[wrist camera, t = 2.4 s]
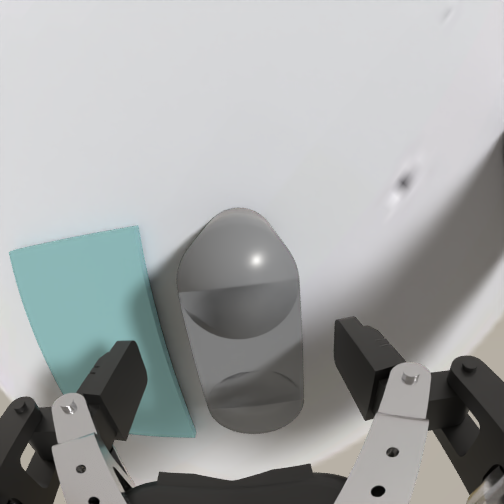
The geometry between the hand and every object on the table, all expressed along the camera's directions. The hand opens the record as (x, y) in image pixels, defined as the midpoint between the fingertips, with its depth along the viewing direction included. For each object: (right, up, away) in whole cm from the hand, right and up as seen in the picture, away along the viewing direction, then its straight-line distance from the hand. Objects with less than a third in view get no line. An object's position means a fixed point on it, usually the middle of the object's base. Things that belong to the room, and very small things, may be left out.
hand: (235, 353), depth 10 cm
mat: (-11, -4, +8) cm, 14 cm away
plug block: (0, +1, +7) cm, 7 cm away
